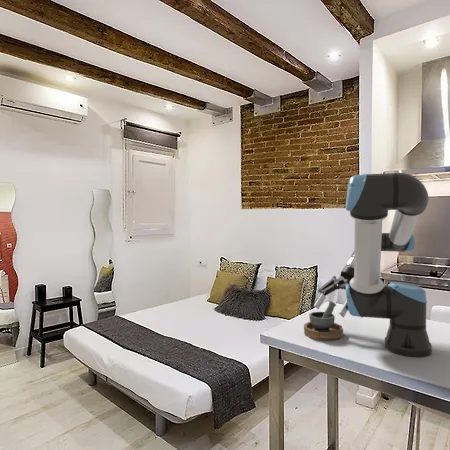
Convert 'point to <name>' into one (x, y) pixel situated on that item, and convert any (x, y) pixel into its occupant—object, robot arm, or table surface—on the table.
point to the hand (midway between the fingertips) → (328, 311)
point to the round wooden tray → (334, 333)
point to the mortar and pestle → (323, 319)
